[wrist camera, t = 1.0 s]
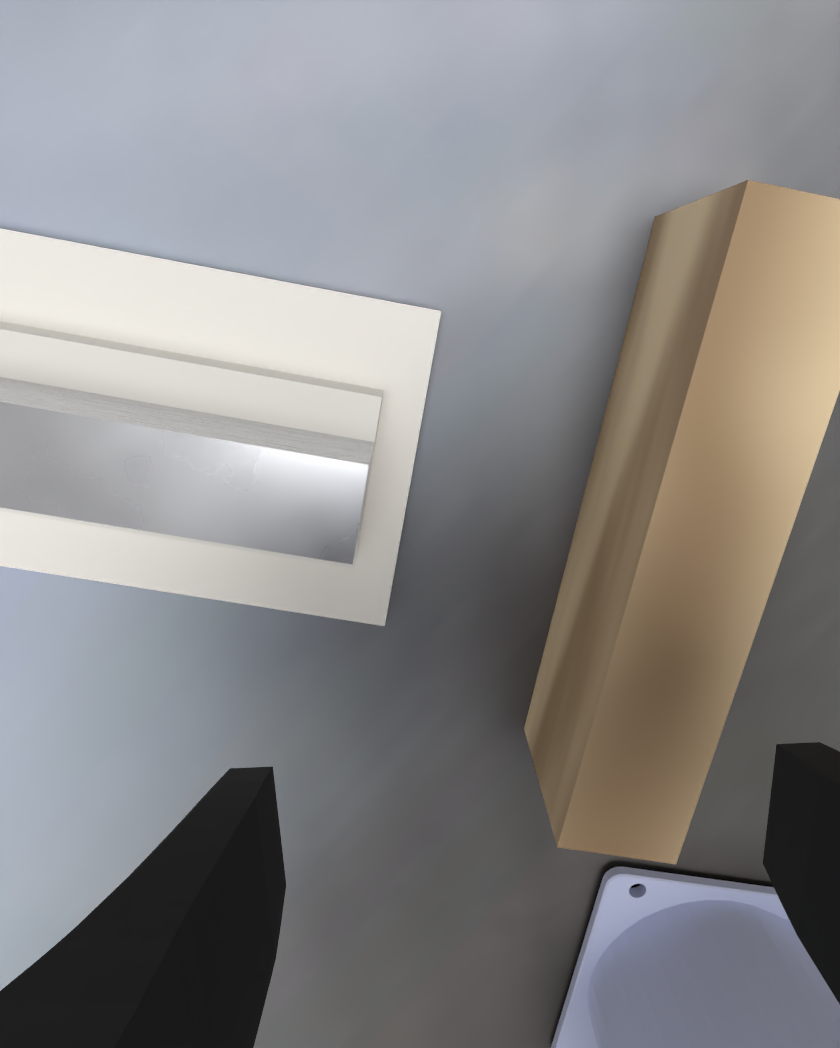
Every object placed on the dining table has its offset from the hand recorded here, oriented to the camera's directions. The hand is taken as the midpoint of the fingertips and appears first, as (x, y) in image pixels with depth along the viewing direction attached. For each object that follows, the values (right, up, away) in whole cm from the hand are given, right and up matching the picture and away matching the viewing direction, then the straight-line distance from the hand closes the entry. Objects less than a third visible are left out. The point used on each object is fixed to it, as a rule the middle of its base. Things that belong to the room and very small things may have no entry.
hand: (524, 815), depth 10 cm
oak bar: (+4, +5, +9) cm, 11 cm away
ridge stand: (-8, +7, +8) cm, 13 cm away
